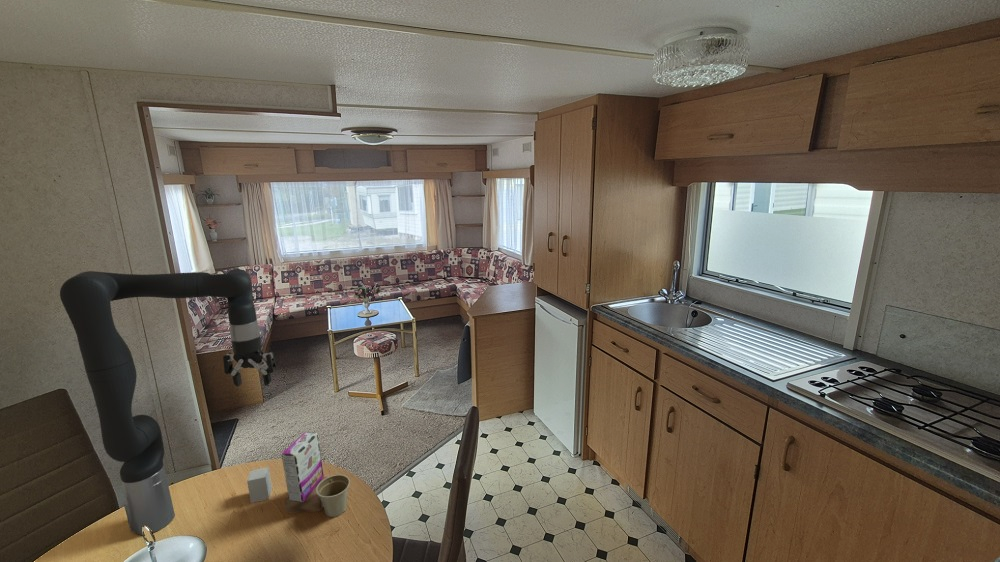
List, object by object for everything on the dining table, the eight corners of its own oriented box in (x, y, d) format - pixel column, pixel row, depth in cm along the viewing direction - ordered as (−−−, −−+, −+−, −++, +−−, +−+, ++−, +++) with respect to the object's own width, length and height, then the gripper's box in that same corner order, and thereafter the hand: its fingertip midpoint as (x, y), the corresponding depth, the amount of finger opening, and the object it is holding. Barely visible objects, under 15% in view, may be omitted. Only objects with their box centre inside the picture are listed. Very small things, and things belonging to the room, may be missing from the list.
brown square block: (286, 512, 125) (284, 501, 124) (299, 488, 135) (298, 478, 134) (320, 511, 126) (318, 499, 125) (331, 487, 135) (329, 476, 134)
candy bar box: (310, 475, 135) (304, 431, 131) (324, 477, 134) (318, 432, 130) (287, 501, 124) (280, 453, 120) (302, 503, 123) (295, 455, 119)
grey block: (251, 502, 129) (247, 480, 127) (254, 491, 134) (250, 470, 132) (268, 499, 130) (265, 477, 129) (271, 488, 135) (268, 467, 133)
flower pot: (325, 527, 120) (321, 502, 118) (315, 508, 127) (312, 483, 125) (357, 511, 125) (354, 486, 123) (346, 493, 133) (343, 470, 130)
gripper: (213, 341, 120) (222, 391, 124) (263, 339, 121) (271, 390, 125) (228, 331, 128) (236, 380, 132) (275, 330, 129) (282, 378, 132)
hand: (253, 384), depth 128 cm, fingers open, 8 cm apart
